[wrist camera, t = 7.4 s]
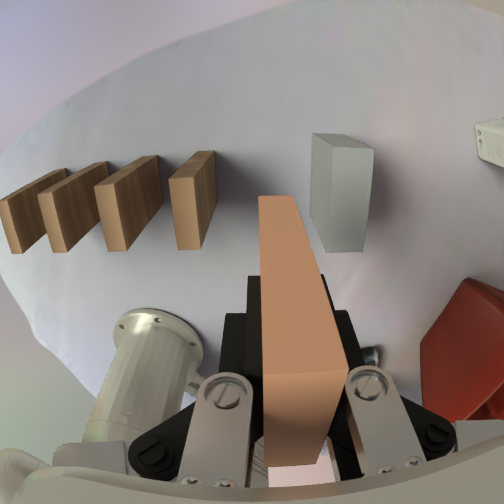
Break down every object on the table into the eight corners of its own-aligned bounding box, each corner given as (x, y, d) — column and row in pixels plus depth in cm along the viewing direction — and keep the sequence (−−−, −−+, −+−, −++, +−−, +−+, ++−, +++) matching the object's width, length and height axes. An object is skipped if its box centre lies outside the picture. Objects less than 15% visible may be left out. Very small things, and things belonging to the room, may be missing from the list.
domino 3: (157, 155, 27) (113, 184, 18) (163, 203, 29) (127, 251, 21) (142, 156, 27) (93, 186, 18) (148, 204, 29) (108, 251, 21)
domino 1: (65, 168, 27) (7, 200, 19) (74, 210, 30) (22, 253, 21) (55, 170, 27) (-4, 202, 19) (63, 211, 30) (12, 253, 21)
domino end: (292, 195, 14) (348, 369, 5) (290, 284, 16) (315, 463, 8) (258, 195, 14) (263, 374, 5) (260, 285, 16) (264, 467, 8)
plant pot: (463, 365, 43) (499, 435, 28) (390, 357, 40) (424, 452, 25) (524, 280, 34) (580, 346, 19) (461, 249, 32) (539, 337, 17)
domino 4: (214, 150, 27) (193, 177, 18) (217, 201, 29) (200, 249, 21) (197, 151, 27) (168, 179, 18) (201, 201, 29) (177, 250, 21)
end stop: (343, 134, 26) (374, 149, 19) (338, 213, 30) (362, 252, 23) (312, 133, 26) (333, 146, 19) (309, 213, 30) (326, 252, 23)
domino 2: (107, 161, 27) (51, 192, 18) (115, 207, 30) (67, 252, 21) (94, 163, 27) (37, 194, 18) (102, 208, 30) (52, 252, 21)
